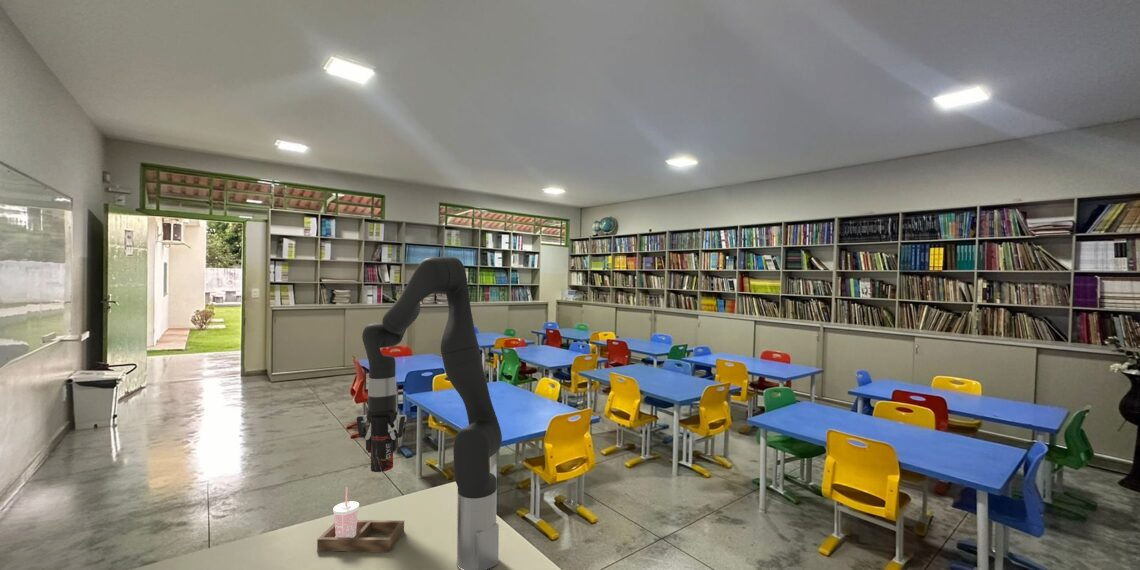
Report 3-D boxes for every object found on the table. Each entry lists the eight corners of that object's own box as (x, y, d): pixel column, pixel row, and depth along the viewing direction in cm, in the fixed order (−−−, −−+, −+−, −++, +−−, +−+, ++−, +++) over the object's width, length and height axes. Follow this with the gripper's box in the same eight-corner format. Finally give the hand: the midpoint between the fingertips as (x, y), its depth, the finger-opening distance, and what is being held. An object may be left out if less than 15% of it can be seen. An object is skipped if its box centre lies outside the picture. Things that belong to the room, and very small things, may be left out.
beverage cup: (362, 534, 121) (362, 481, 121) (353, 547, 115) (354, 491, 115) (338, 535, 120) (338, 482, 120) (328, 548, 114) (329, 492, 114)
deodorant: (384, 472, 125) (385, 418, 125) (365, 471, 126) (366, 417, 126) (397, 464, 131) (397, 413, 131) (379, 463, 132) (379, 412, 132)
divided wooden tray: (404, 531, 122) (404, 520, 122) (389, 552, 112) (389, 539, 112) (337, 531, 122) (337, 520, 122) (317, 551, 112) (317, 539, 113)
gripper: (350, 395, 125) (350, 456, 125) (402, 395, 125) (402, 456, 125) (363, 390, 133) (363, 447, 132) (412, 389, 132) (411, 447, 132)
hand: (382, 451), depth 128 cm, fingers closed on deodorant, 6 cm apart
